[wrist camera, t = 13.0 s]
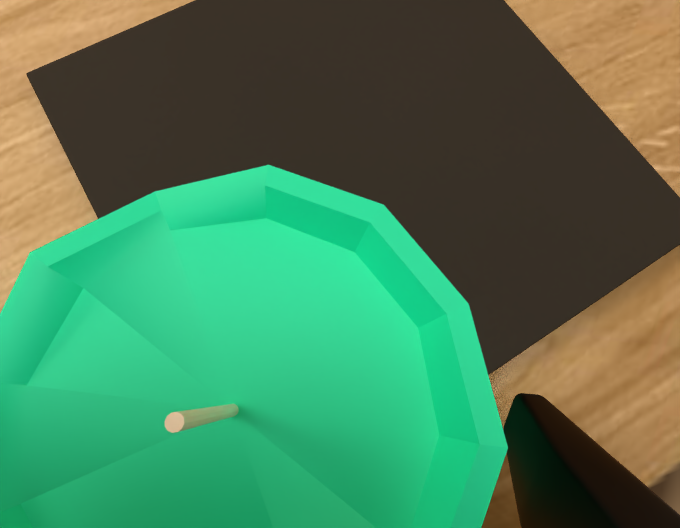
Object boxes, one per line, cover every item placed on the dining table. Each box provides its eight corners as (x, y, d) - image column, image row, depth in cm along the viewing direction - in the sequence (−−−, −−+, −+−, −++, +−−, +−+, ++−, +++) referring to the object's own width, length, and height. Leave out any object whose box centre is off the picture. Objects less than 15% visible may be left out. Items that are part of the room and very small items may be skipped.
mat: (694, 231, 17) (706, 226, 17) (258, 528, 14) (254, 534, 13) (415, -85, 22) (418, -97, 21) (34, 82, 19) (25, 72, 18)
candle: (389, 320, 15) (570, 117, 4) (374, 506, 14) (610, 1090, 2) (223, 300, 16) (-73, 42, 4) (188, 483, 14) (-506, 946, 2)
